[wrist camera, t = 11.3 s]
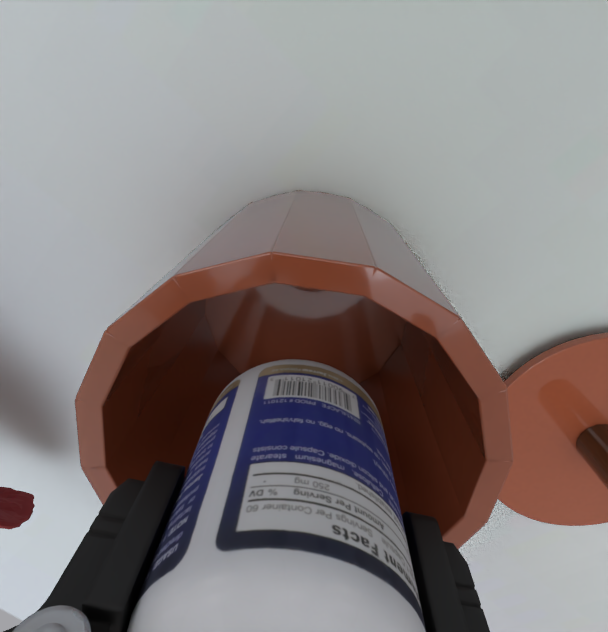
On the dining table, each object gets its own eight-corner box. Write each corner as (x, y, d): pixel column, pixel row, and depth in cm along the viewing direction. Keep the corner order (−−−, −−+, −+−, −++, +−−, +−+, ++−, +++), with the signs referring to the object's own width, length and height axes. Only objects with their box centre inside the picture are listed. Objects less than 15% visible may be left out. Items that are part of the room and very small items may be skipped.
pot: (159, 225, 23) (-7, 319, 11) (399, 161, 21) (491, 197, 10) (234, 418, 28) (171, 623, 16) (435, 380, 26) (525, 578, 14)
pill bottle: (272, 512, 16) (201, 1021, 7) (178, 400, 14) (-91, 889, 5) (412, 452, 15) (560, 992, 5) (327, 320, 13) (333, 795, 4)
